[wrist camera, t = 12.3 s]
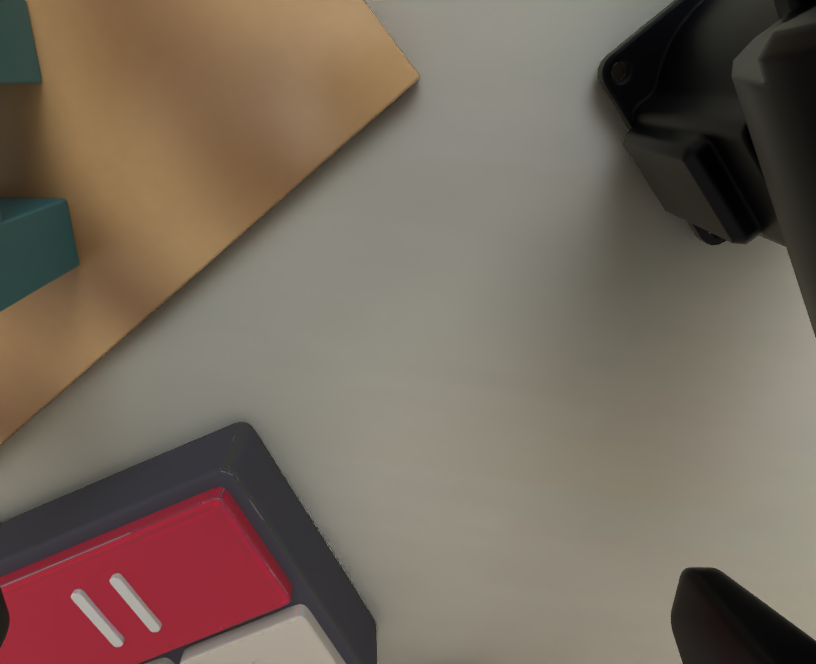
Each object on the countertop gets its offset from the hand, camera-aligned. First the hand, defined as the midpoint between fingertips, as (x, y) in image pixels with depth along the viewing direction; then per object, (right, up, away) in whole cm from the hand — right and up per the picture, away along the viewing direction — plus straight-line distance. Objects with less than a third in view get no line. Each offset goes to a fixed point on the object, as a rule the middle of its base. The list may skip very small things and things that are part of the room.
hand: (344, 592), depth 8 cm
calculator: (-9, -7, +16) cm, 20 cm away
